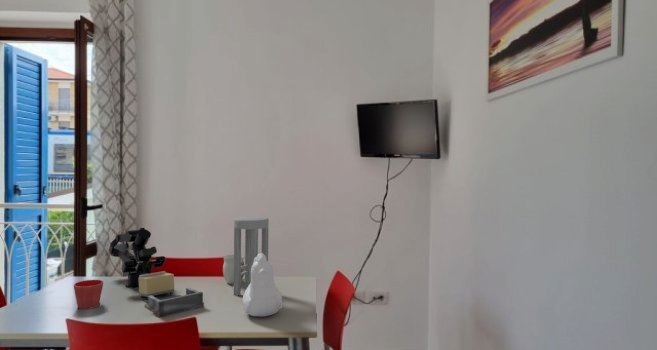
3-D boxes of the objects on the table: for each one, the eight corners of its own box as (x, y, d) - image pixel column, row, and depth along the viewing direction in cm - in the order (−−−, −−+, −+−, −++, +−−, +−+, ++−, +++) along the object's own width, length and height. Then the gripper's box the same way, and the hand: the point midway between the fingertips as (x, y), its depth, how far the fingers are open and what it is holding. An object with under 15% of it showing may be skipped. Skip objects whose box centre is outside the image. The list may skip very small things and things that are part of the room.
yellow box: (138, 297, 185) (138, 274, 185) (165, 291, 194) (165, 270, 194) (147, 302, 178) (147, 279, 178) (174, 296, 187) (174, 274, 187)
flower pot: (109, 303, 177) (109, 280, 177) (86, 311, 167) (86, 287, 167) (90, 300, 181) (90, 278, 181) (67, 308, 170) (67, 284, 170)
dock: (131, 302, 182) (131, 286, 182) (173, 293, 196) (173, 278, 195) (158, 319, 162) (158, 301, 162) (203, 308, 175) (203, 292, 175)
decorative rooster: (280, 322, 158) (281, 256, 158) (238, 322, 158) (239, 256, 157) (284, 301, 183) (284, 244, 183) (248, 301, 182) (248, 244, 182)
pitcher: (250, 277, 222) (250, 251, 222) (239, 287, 204) (239, 259, 204) (230, 276, 223) (230, 251, 223) (217, 286, 205) (217, 258, 205)
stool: (227, 295, 190) (227, 219, 189) (246, 287, 204) (246, 215, 204) (256, 300, 184) (257, 221, 183) (273, 290, 198) (274, 217, 198)
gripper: (123, 243, 189) (132, 272, 181) (164, 239, 202) (174, 265, 194) (117, 258, 194) (126, 286, 187) (157, 252, 208) (167, 279, 200)
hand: (149, 279), depth 192 cm, fingers closed
